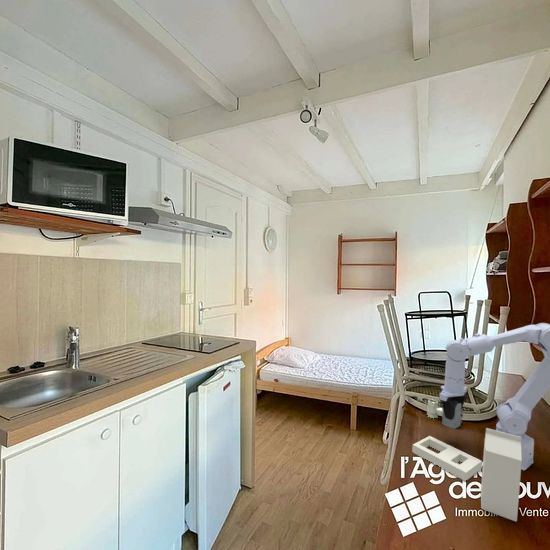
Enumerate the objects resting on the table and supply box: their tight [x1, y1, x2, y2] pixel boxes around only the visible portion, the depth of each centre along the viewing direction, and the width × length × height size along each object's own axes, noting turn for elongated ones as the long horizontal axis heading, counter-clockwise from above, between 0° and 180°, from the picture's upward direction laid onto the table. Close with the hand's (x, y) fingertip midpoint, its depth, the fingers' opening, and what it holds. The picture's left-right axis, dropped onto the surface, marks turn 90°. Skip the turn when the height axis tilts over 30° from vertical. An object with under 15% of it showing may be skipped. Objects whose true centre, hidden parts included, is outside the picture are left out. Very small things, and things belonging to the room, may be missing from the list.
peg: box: [441, 400, 462, 430], centre depth 109 cm, size 4×4×8 cm
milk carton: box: [480, 427, 522, 523], centre depth 80 cm, size 7×7×19 cm
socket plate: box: [411, 435, 483, 482], centre depth 99 cm, size 16×10×2 cm, turn 35°
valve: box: [426, 398, 464, 426], centre depth 125 cm, size 7×7×12 cm
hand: (452, 416), depth 108 cm, fingers closed on peg, 4 cm apart
